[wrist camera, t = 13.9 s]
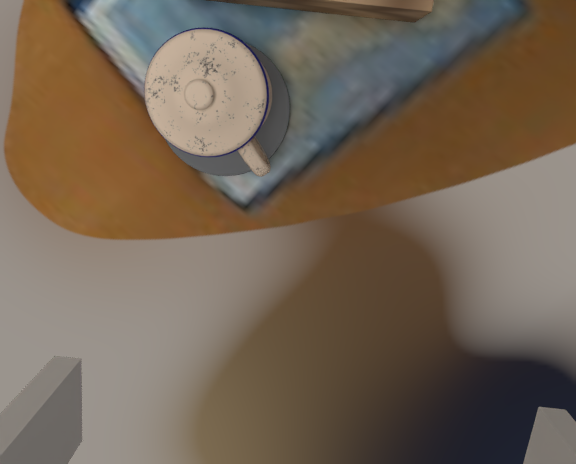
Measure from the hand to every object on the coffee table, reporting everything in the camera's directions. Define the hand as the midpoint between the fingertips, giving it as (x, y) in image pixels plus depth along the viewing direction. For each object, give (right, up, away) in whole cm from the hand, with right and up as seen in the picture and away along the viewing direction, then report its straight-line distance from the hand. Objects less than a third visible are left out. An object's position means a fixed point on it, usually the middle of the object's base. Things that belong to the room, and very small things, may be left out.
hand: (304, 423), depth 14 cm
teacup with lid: (-5, +17, +31) cm, 35 cm away
